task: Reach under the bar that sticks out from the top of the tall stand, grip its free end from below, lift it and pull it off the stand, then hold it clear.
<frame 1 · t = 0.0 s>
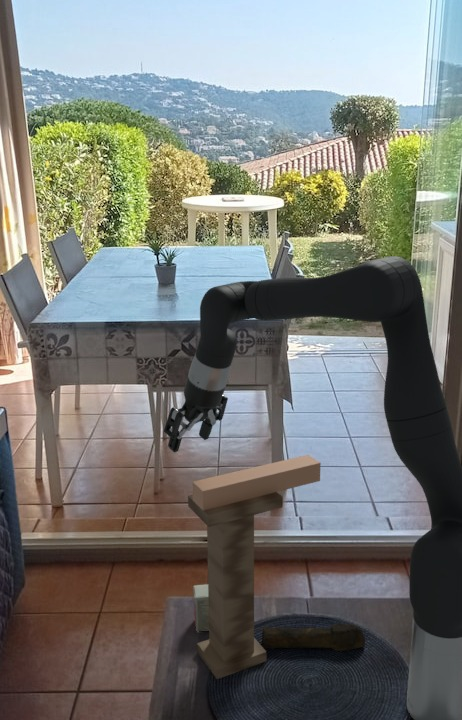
hand: (188, 443, 148), 31 cm above the table, tool tilted 20°, fingers open, 8 cm apart
stand: (231, 656, 133), on the table
hand tool: (312, 646, 136), on the table
small box: (207, 626, 142), on the table
bar: (258, 490, 126), point 32 cm above the table, touching stand
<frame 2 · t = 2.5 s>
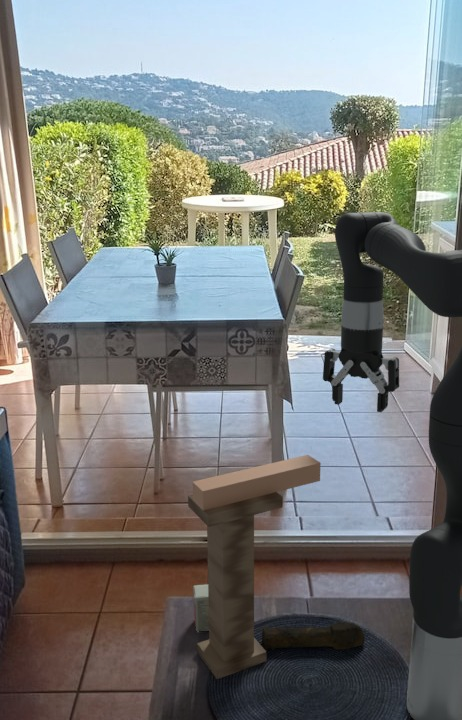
hand: (359, 407, 138), 42 cm above the table, tool pointing down, fingers open, 8 cm apart
nothing on the table moved.
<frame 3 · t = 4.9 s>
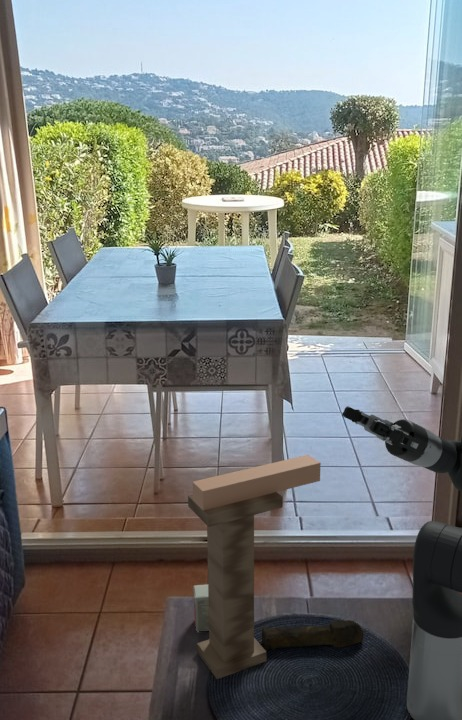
hand: (358, 418, 137), 40 cm above the table, tool pointing upward, fingers open, 8 cm apart
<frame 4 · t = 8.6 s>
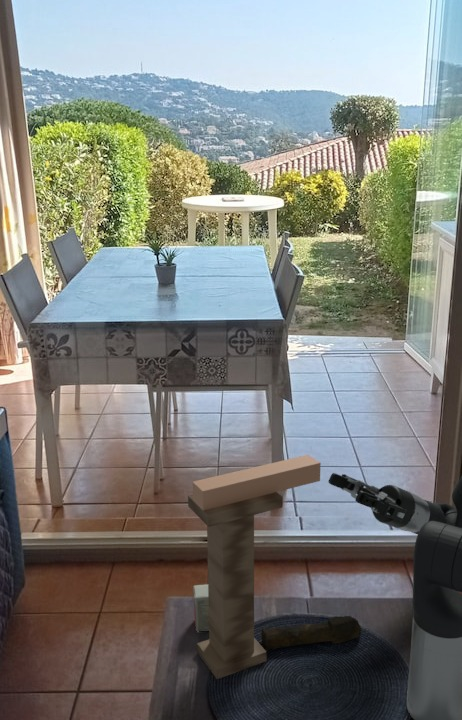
hand: (344, 487, 136), 28 cm above the table, tool pointing upward, fingers open, 8 cm apart
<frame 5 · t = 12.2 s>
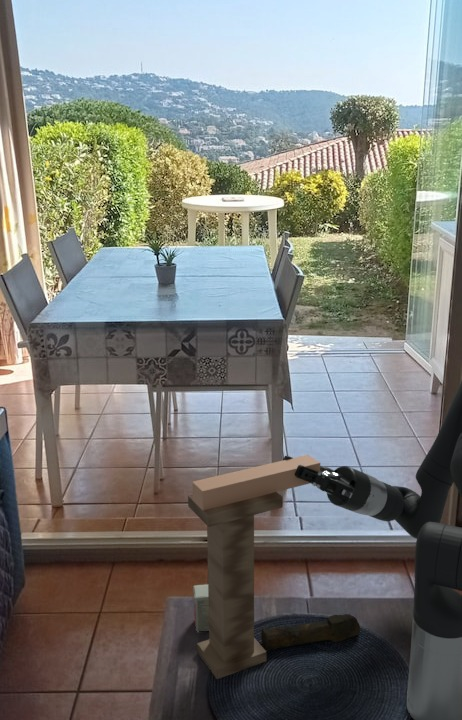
hand: (290, 465, 128), 35 cm above the table, tool pointing upward, fingers closed on bar, 4 cm apart
bar: (258, 490, 126), point 32 cm above the table, touching gripper, stand
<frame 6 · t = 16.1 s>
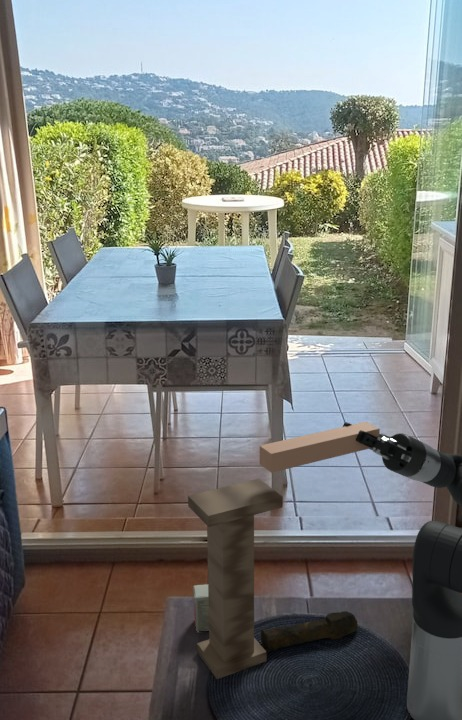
hand: (351, 431, 133), 39 cm above the table, tool pointing upward, fingers closed on bar, 4 cm apart
bar: (320, 455, 131), point 36 cm above the table, touching gripper
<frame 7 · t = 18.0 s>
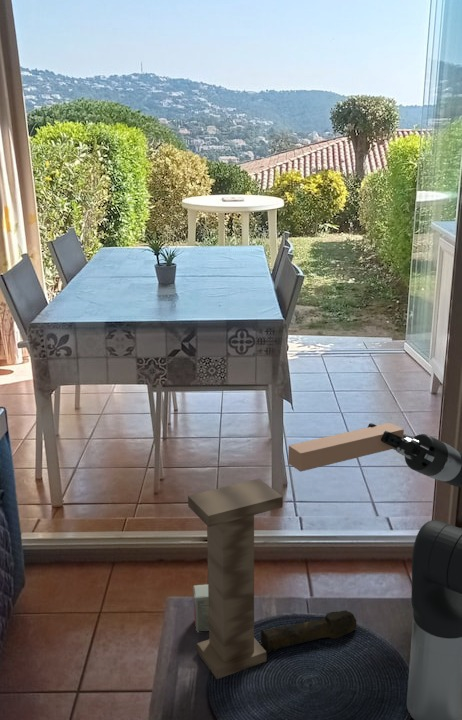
hand: (376, 432, 137), 37 cm above the table, tool pointing upward, fingers closed on bar, 4 cm apart
bar: (347, 454, 135), point 34 cm above the table, touching gripper
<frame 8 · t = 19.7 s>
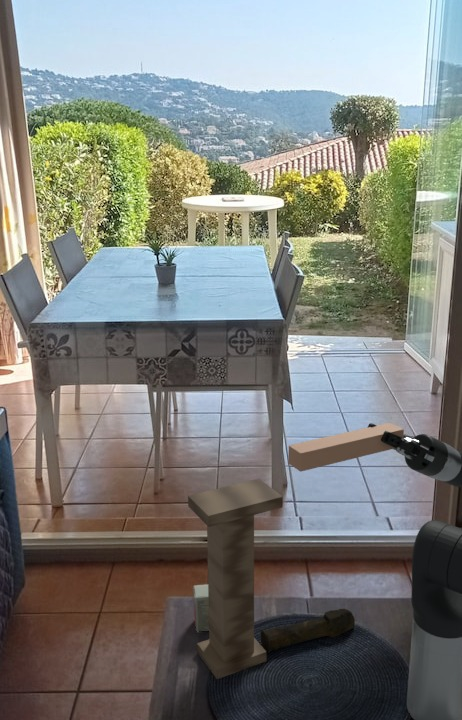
hand: (376, 432, 137), 37 cm above the table, tool pointing upward, fingers closed on bar, 4 cm apart
bar: (347, 454, 135), point 34 cm above the table, touching gripper
at the end: the gripper is holding bar; bar touching gripper; bar point 34.1 cm above the table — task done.
